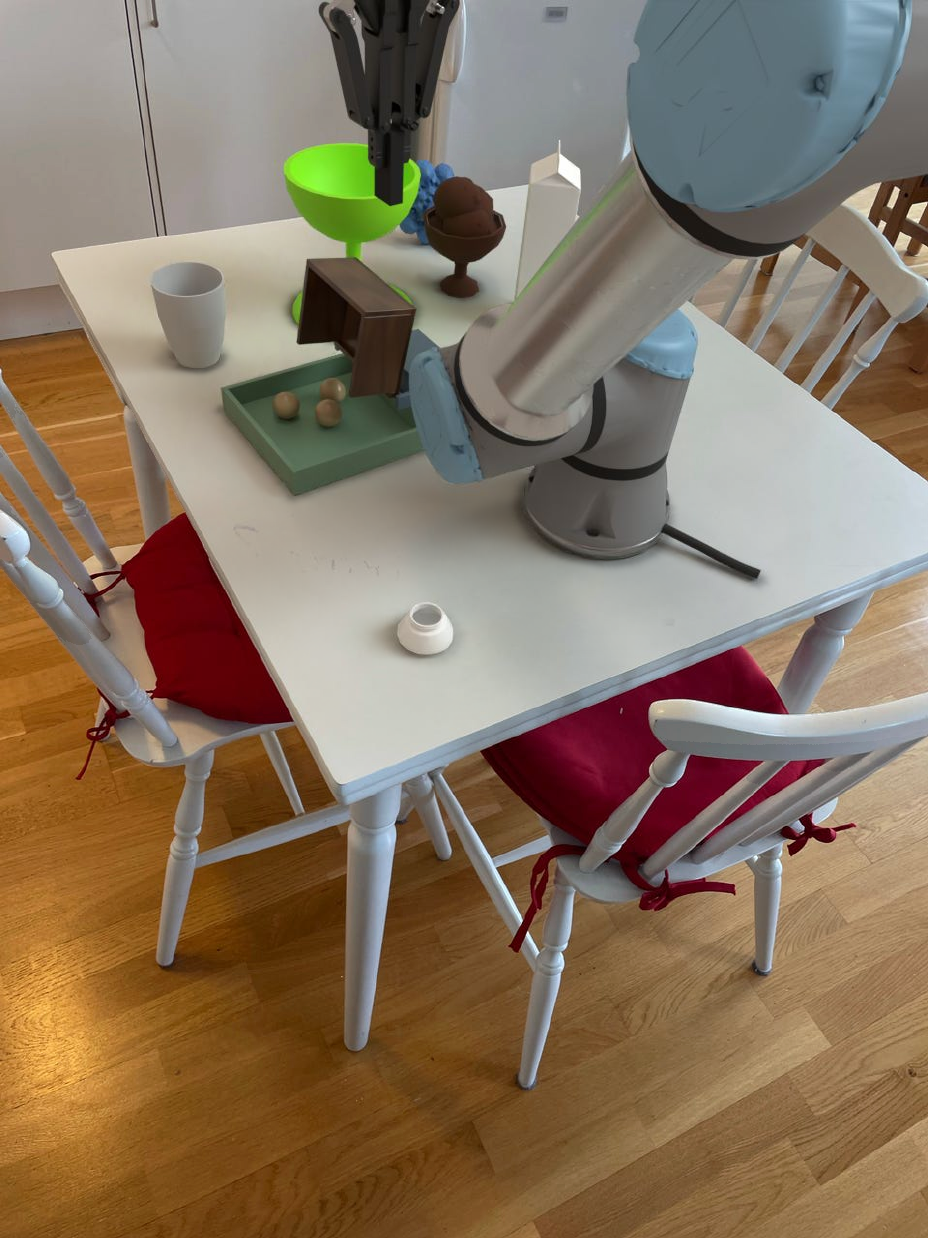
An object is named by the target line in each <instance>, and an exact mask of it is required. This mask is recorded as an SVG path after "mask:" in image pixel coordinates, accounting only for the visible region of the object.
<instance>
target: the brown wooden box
mask: <svg viewBox="0 0 928 1238" xmlns="http://www.w3.org/2000/svg"><path fill="white" fill-rule="evenodd" d="M305 261H306V262H305V270H304V279H303V286H302V291H303V293H302V301H301V309H300V317H299V324H297V325H298V326H297V335H296V344H297V345H298V346H303V345H314V344H325V343H326V344H327V343H333V345H334V347H335V346H336V347H337V348H338V349H339V351H340V352H341V353H343V354H344V355H345V356H346V357H347V358H348V359H349V360H350V361H352V362H353V363H354V364H353V370H352V376H351V382H350V388H349V394H348V395H349V396H350V397H351V398H353V397H362V396H370V395H378V394H385V395H386V396H387V397H388V398H396V395H399V394H400V393H399V391H400V386H401V381H402V376H403V371H404V367H405V362H406V357H407V352H408V347H409V342H410V337H411V332H412V330H413V327H414V322H415V317H416V313H417V307H416V306H414V304H413V303H412V304H413V305H412V304H411V303H409V302H408V301H407V300H406V299H405V298H404V297H402V296H401V295H400V294H399V293H398V292H396V291H395V290H394V289H393V288H392V287H391V286H389V285H388V284H389V283H388V282H386V281H385V280H384V279H383V278H381V277H380V276H379V275H378V274H377V273H375V271H373V270H372V269H371V268H370V267H369V266H367V265H366V264H365V263H363V261H362V260H361V261H360V260H359V259H358V258H357V257H351V258H346V257H321V258H320V257H319V258H306V260H305ZM387 283H388V284H387Z"/></svg>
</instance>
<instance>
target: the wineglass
mask: <svg viewBox="0 0 928 1238" xmlns="http://www.w3.org/2000/svg"><path fill="white" fill-rule="evenodd" d="M415 163H416V162H415V161H414V160H412V159H411V158H410V159H409V162H408V163H404V178H403V203H402V204H398V205H393V206H389V205H387V204H386V203H384V202H383V201H382V200H380V199H379V198H377V197H376V196H375V167H374V166H372V165H371V164H370V163H369V160H368V144H365V143H355V142H354V143H352V142H349V143H348V142H337V143H324V144H319V145H314V146H310V147H307V148H304V149H301V150H299V151H297V152H295V153H293V154H292V155H290V156H289V157H288V158H287V159H286V161H285V162H284V163H283V175H284V181H285V185H286V186H285V187H286V190H287V193H288V195H289V196H290V200H291V201H292V203H293V205H294V207H295V209H296V211H297V212H298V214H299V215H300V216H301V217H302V218H303V219H304V220H305V222H306V223H307V224H308V225H309V226H310V227H312V229H314V230H315V231H317V232H319V233H321V234H322V235H325V237H327V238H330V239H331V240H334V241H337V242H342V243H345V258H351V257H357V258H358V259H359V260H360V261H361V262H362V243H363V244H364V243H370V242H373V241H376V240H379V239H381V238H382V237H384V236H386V235H388V234H390V233H391V232H393V231H394V230H396V229H397V228H398V227H399V226H400V225H399V224H400V223H401V222H402V221H403V220H404V219H405V218H406V216H407V215H408V214H409V211H410V209H411V207H412V205H413V203H414V201H415V199H416V196H417V194H418V189H419V183H420V177H421V174H420V169H419V167H418V166H417V165H416V164H415ZM386 283H387V284H388V285H389V286H391V287H392V288H393V289H394V290H395V291H396V292H398V293H399V294H400V295H401V296H402V297H404V298H405V299H406V300H407V301H408V302H409V303H411V304H412V305H413V306H414V304H413V302H412V301H411V300H410V298H409V296H408V295H407V294H406V293H404V292H403V291H402V290H401V289H399V288H398V287H396V286H394V285H392V284H390V283H388V282H386ZM302 293H303V290H302V291H301V292H300V293H298V295H297V296H296V298H295V300H294V302H293V304H292V317H293V318H294V321H295V322H296V324H297V325H299V317H300V309H301V301H302Z"/></svg>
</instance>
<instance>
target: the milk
mask: <svg viewBox="0 0 928 1238" xmlns="http://www.w3.org/2000/svg"><path fill="white" fill-rule="evenodd" d="M581 183H582V181H581V169H580V168H579V167H578V166H576V164H574V163H573V162H571V161H570V160H569V159H568V158H566V157H565V156H564V155H563V154H561V139H559V140H558V145H557V151H556V152H554V153H552V154H550V155H548V156H546V157H543V158H542V159H539V160H537V161H534V162H533V163H531V165H530V172H529V181H528V187H527V194H526V195H527V196H526V203H525V210H524V211H525V212H524V219H523V220H524V221H523V228H522V234H521V235H522V236H521V244H520V251H519V252H520V253H519V259H518V260H519V261H518V268H517V277H516V284H515V293H514V300H513V302H514V301H515V300H516V299H517V297H518V296H519V295H520V293H521V292H522V291H523V289H524V288H525V287H526V286H527V284H528V283H529V282H530V280H531V279H532V278H533V276H534V275H535V274H536V273H537V271H538V270H539V269H540V267H541V266H542V265H543V263H544V262H545V261H546V260H547V258H548V257H549V256H550V254H551V253H552V252H553V250H554V249H555V248H556V247H557V245H558V244H559V243H560V241H561V240H562V239H563V237H564V236H565V235H566V234H567V232H568V231H569V230H570V228H571V227H572V226H573V224H574V223H575V222H576V221H577V215H578V209H579V204H580V203H579V202H580V197H581V191H582V186H581Z"/></svg>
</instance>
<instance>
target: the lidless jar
mask: <svg viewBox="0 0 928 1238" xmlns="http://www.w3.org/2000/svg"><path fill="white" fill-rule="evenodd" d="M396 633H397V634H396V636H397V638H398V640H399V643H400V644H401V645H402V646H403V647H404V648H405V649H406V650H408V651H410V652H412V653H415V654H417V655H423V656H424V655H426V656H429V655H435V654H439V653H441V652H443V651H445V650H446V649H448V648H449V646H451V644H452V642H453V640H454V627H453V625H452V622H451V621H450V620H449V618H448V616H447V614H446V613H445V612H444V610H443V609H442V608H441V607H440V606H439V605H438V604H435V603H433V602H429V601H424V602H419V603H417V604H415V605H413V607H412V608H411V609H410V610H409V611H408V612H407V613H406V614H405V616H403V618H402V619H401V621H399V623H398V626H397V632H396Z"/></svg>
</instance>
